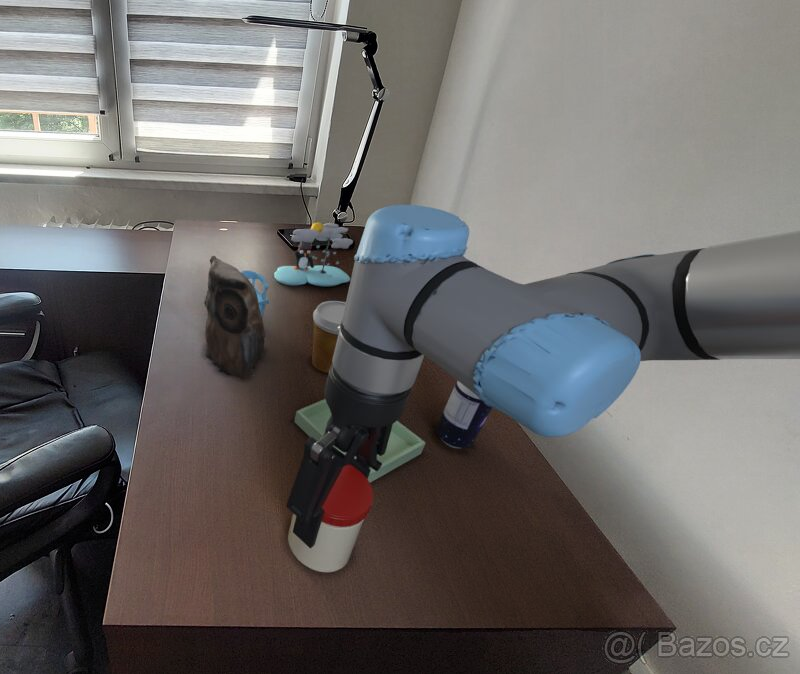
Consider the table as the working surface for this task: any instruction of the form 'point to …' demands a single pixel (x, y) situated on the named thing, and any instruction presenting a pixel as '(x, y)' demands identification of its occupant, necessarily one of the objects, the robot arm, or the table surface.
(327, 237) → the penguin figurine
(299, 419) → the tray
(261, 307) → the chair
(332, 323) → the disposable coffee cup
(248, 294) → the owl
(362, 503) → the jar lid
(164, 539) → the table surface
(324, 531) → the jar
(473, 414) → the beverage can
